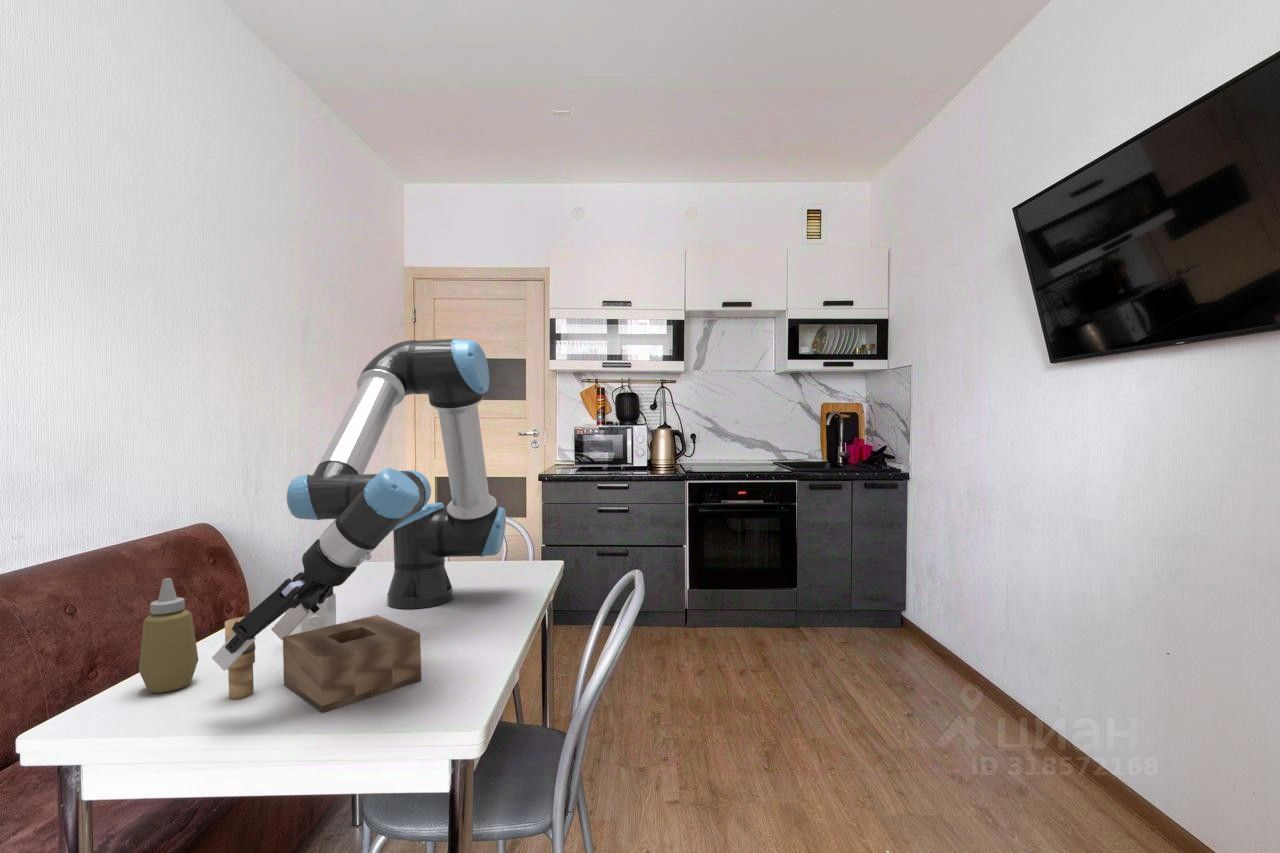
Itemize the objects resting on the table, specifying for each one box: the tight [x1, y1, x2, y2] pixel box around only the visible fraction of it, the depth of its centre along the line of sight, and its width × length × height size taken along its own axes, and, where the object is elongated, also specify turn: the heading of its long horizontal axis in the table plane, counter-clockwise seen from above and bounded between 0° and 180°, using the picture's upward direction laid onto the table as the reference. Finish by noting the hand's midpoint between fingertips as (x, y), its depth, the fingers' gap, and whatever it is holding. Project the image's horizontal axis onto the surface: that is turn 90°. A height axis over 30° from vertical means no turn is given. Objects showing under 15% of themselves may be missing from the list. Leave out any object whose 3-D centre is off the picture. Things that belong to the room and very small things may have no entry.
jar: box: [284, 588, 337, 636], centre depth 130 cm, size 9×8×12 cm
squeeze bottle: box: [138, 577, 199, 694], centre depth 110 cm, size 8×8×18 cm
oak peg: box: [224, 616, 256, 700], centre depth 106 cm, size 4×4×12 cm
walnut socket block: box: [282, 614, 422, 713], centre depth 110 cm, size 16×16×8 cm
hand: (250, 648), depth 104 cm, fingers open, 13 cm apart
